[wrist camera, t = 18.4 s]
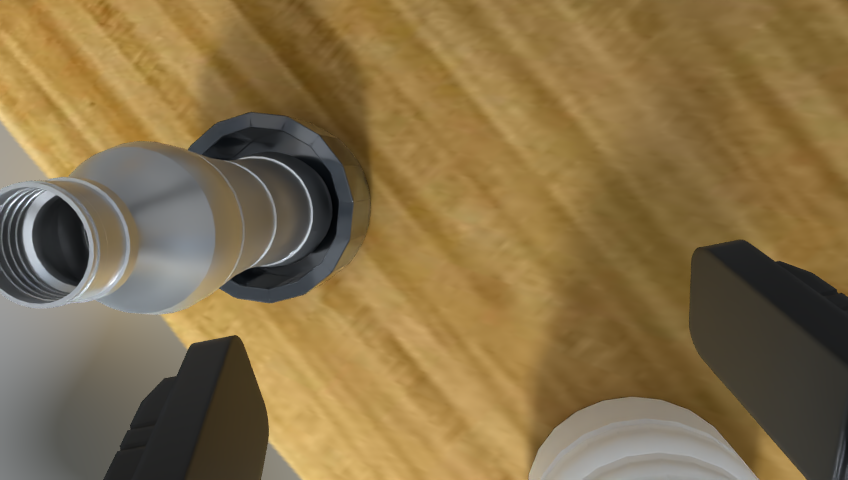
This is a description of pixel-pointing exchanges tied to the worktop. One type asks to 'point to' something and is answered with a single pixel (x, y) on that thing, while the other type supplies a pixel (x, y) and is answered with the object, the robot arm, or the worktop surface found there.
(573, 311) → the worktop surface
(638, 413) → the honey pot
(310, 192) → the silver bottle
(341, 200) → the socket
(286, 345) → the worktop surface
